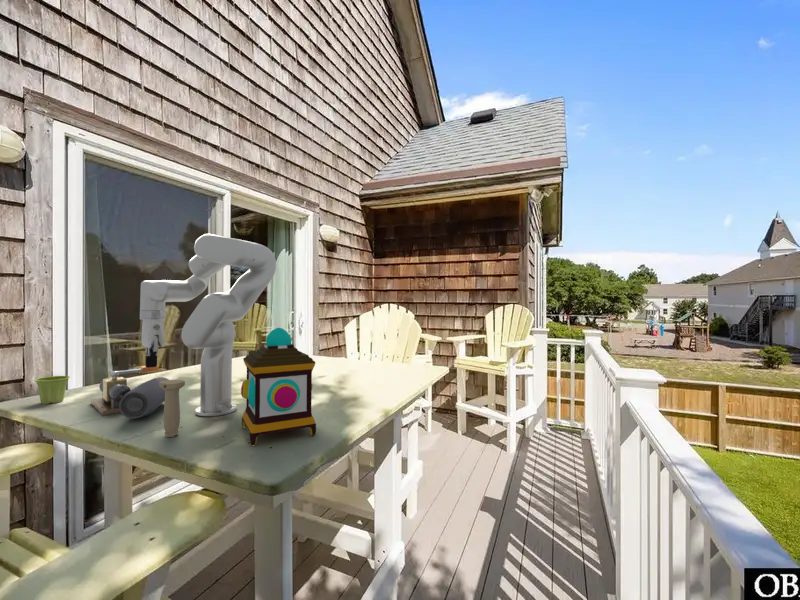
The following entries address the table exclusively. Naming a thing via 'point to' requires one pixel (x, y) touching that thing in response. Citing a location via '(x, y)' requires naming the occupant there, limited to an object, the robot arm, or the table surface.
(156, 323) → the robot arm
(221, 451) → the table surface
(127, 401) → the bluetooth speaker
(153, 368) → the lever
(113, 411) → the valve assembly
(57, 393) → the plant pot
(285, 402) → the decorative lantern
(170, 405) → the handle
